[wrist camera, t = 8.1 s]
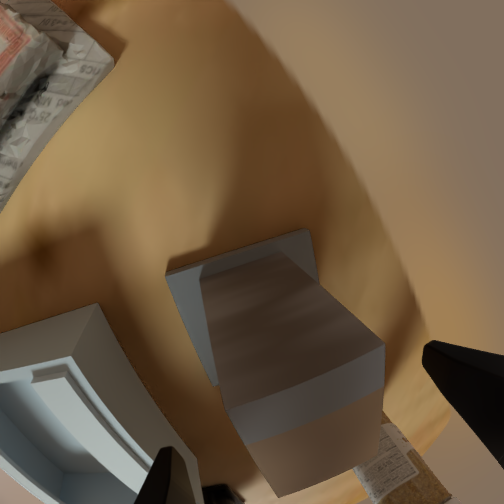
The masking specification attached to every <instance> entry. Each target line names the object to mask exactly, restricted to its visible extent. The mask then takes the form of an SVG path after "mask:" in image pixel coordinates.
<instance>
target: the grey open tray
mask: <svg viewBox="0 0 504 504" xmlns="http://www.w3.org/2000/svg"><path fill="white" fill-rule="evenodd" d="M166 446H173V447H174V448H175V449H176V450H177V451H178V452H179V454H180V455H181V456H182V457H183V459H184V461H185V463H186V467H187V471H188V475H189V479H190V483H191V486H192V490H193V493H194V497H195V501H196V504H204V500H203V494H202V489H201V482H200V476H199V470H198V463H197V458H196V457H195V456H194V454H193V453H192V452H191V451H190V449H189V448H188V447H187V446H186V444H185V443H184V442H183V441H182V439H181V438H180V437H179V435H178V434H177V433H176V431H175V430H174V429H173V427H172V426H171V425H170V423H169V422H168V420H167V419H166V418H165V416H164V415H163V413H162V412H161V411H160V409H159V408H158V406H157V405H156V403H155V402H154V400H153V399H152V397H151V396H150V394H149V393H148V391H147V390H146V388H145V387H144V385H143V383H142V382H141V380H140V379H139V377H138V375H137V374H136V372H135V371H134V369H133V367H132V366H131V364H130V362H129V360H128V359H127V357H126V355H125V353H124V352H123V350H122V348H121V346H120V345H119V343H118V341H117V339H116V337H115V335H114V333H113V332H112V330H111V328H110V326H109V324H108V322H107V320H106V318H105V316H104V314H103V312H102V310H101V308H100V306H99V304H98V303H95V304H92V305H88V306H85V307H82V308H79V309H76V310H73V311H70V312H67V313H63V314H60V315H57V316H54V317H51V318H48V319H45V320H42V321H38V322H35V323H32V324H29V325H26V326H23V327H20V328H17V329H13V330H10V331H7V332H4V333H1V334H0V468H1V469H2V470H4V471H5V472H6V473H7V474H8V475H9V476H10V477H12V478H13V479H14V480H15V481H16V482H18V483H19V484H20V485H22V487H24V488H25V489H26V490H28V491H29V492H30V493H31V494H33V495H34V496H36V497H37V498H38V499H40V500H41V501H42V502H44V503H45V504H134V502H135V499H136V497H137V495H138V493H139V491H140V489H141V487H142V485H143V483H144V481H145V479H146V476H147V474H148V472H149V470H150V468H151V466H152V464H153V462H154V460H155V458H156V456H157V453H158V451H159V449H160V448H162V447H166Z"/></svg>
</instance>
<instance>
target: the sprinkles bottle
mask: <svg viewBox="0 0 504 504" xmlns="http://www.w3.org/2000/svg"><path fill="white" fill-rule="evenodd" d="M352 469H353V471H354V472H355V474H356V476H357V477H358V479H359V481H360V482H361V484H362V486H363V487H364V489H365V491H366V492H367V494H368V495H369V497H370V499H371V500H372V502H373V504H462V503H461V502H460V501H459V500H458V498H457V497H453V498H451V496H452V494H449V493H448V491H447V490H446V488H445V487H444V486H443V485H442V484H441V482H440V481H439V480H438V479H437V477H436V476H435V475H434V474H433V472H432V471H431V470H430V469H429V467H428V466H427V465H426V463H425V462H424V460H423V459H422V457H421V456H420V455H419V453H418V452H417V451H416V450H415V449H414V447H413V446H412V445H411V444H410V442H409V441H408V440H407V439H406V437H405V436H404V435H403V434H402V432H401V431H400V430H399V429H398V428H397V426H396V425H395V424H393V423H392V422H391V421H390V419H389V418H388V417H387V416H386V415H385V413H384V412H383V411H382V420H381V430H380V439H379V447H378V454H377V456H375V457H373V458H371V459H369V460H368V461H366V462H364V463H362V464H360V465H358V466H356V467H354V468H352Z"/></svg>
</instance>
